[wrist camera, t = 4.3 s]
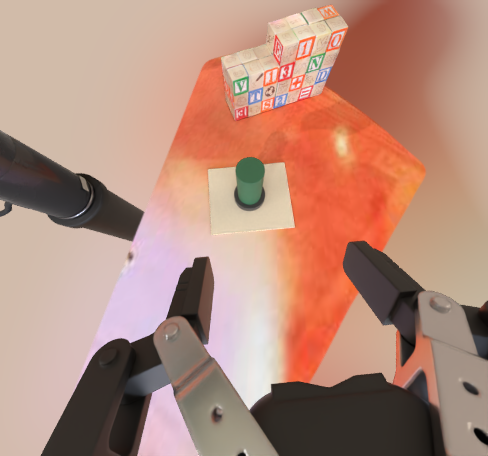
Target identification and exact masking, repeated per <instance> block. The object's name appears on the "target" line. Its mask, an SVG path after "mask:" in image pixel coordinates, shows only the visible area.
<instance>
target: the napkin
mask: <svg viewBox="0 0 488 456" xmlns="http://www.w3.org/2000/svg"><path fill="white" fill-rule="evenodd" d="M263 165H264V167H265V175H264V181H263V188H264V190H265V199H264V202H263V204H262V206H261V207H260V208H258V209H257V210H254V211H245V210H243V209H241V208H239V207H238V206H237V204H236V202H235V198H234V191H235V188H236V186H237V181H236V172H235V169H236V167H228V168H217V169H208V181H209V201H210V220H211V235H219V234H230V233H241V232H252V231H262V230H273V229H284V228H294V227H295V225H294V219H293V212H292V206H291V200H290V194H289V187H288V181H287V175H286V169H285V163H284V162H282V163H271V164H263Z"/></svg>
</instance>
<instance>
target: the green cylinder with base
mask: <svg viewBox="0 0 488 456" xmlns="http://www.w3.org/2000/svg"><path fill="white" fill-rule="evenodd" d="M235 172H236V181H237V186H236V188H235V191H234V198H235V202H236V204H237V206H238V207H239V208H241V209H243V210H245V211H254V210H257V209H258V208H260V207H261V206H262V204H263V202H264V199H265V190H264V188H263V181H264V175H265V167H264V165H263V163H262V162H261V161H260V160H259V159H257V158H253V157H247V158H244V159H242V160H241V161H239V163H238V164H237V166H236V169H235Z"/></svg>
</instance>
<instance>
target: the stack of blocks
mask: <svg viewBox="0 0 488 456" xmlns="http://www.w3.org/2000/svg"><path fill="white" fill-rule="evenodd" d="M347 29H348V26H347V24H346V23H345V22H344V20H343V19H342V17H341V16H339V13H338V12H337V11H336V9H335V8H334V7H333V6H332V5H328V6H325V7H321V8H313V9H309V10H306V11H303V12H301V13H297V14H294V15H291V16H288V17H285V18H282V19H279V20H275V21H272V22H269V23H268V31H267V40H266V44H264V45H261V46H257V47H254V48H250V49H246V50H243V51H239V52H237V53H234V54H230V55H227V56H224V57H221V61H222V71H223V81H224V89H225V96H226V102H227V104H228V106H229V108H230V110H231V113H232V115H233V117H234V119H235V121H237V120H240V119H242V118H245V117H250V116H253V115H256V114H259V113H262V112H265V111H269V110H272V109H274V108H277V107H280V106H283V105H286V104H289V103H292V102H295V101H299V100H303V99H306V98H309V97H313V96H316V95H319V94H321V93H322V90H323V88H324V86H325V83H326V80H327V78H328V75H329V73H330V71H331V68H332V66H333V64H334V62H335V60H336V57H337V55H338V53H339V50H340V46H341V44H342V41H343V39H344V37H345V34H346V32H347Z"/></svg>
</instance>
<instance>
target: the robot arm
mask: <svg viewBox="0 0 488 456" xmlns="http://www.w3.org/2000/svg"><path fill="white" fill-rule="evenodd" d="M95 195H96V194H95V189H94V186H93V185H92V184H91V183H90V182H89V181H87V180H86V179H84V178H83V177H81V176H78V175H76V174H74V173H73V172H71V171H69V170H68V169H66V168H64V167H62V166H61V165H59V164H57V163H56V162H54V161H52V160H51V159H49V158H47V157H45V156H43V155H42V154H40V153H38V152H37V151H35V150H33V149H32V148H30V147H28V146H26V145H25V144H23V143H21V142H20V141H18V140H16V139H14V138H13V137H11V136H9V135H8V134H5V133H4V132H2V131H1V130H0V200H3V201H6V202H5V209H4V210H2V211H0V217H1V216H4V215H6V214H8V213H9V212H10V211H12V204H14V205H17V206H21V207H24V208H28V209H33V210H36V211H39V212H43V213H46V214H49V215H52V216H55V217H57V218H61V219H64V220H72V219H76V218H79V217H81V216H82V215H84V214H85V213H87V212H88V211H89V209H90V208H91V207H92V205H93V203H94V201H95ZM343 268H344V271H345V273H346V275H347V276H348V277H349V279H350V280H351V282H352V283H353V284H354V286H355V287H356V288H357V290H358V291H359V293H360V294H361V295H362V297H363V298H364V299H365V301H366V302H367V304H368V305H369V307H370V308H371V309H372V311H373V312H374V313H375V315H376V316H377V318H378V319H379V320H380V321H381V323H382V324H383V325H389V324H390V325H391V324H394V325H395V327H396V328H397V329H398V330H397V332H396V374H395V377H394V380H393V384H391V383H388V382H387V381H386V379H385V378H384V376H383V374H382V373H375V374H364V375H356V376H353V377H351V378H349V379H347V380H345V381H343V382H341V383H339V384H337V385H335V386H333V387H323V386H318V385H314V384H309V383H304V382H299V381H297V382H287V383H278V384H271V393H269V394H267V395H265V396H264V397H262V398H261V399H259V400H258V401H257V402H256V403H255V404H254V405H253V406H252V408H251V409H250V410H248V408H247V407H246V405H245V404H244V402H243V401H242V399H241V398H240V396H239V394H238V393H237V391H236V390H235V388H234V387H233V385H232V384H231V382H230V381H229V379H228V378H227V376H226V375H225V373H224V372H223V370H222V369H221V367H220V366H219V364H218V363H217V361H216V360H215V359H214V358H212V357H211V356H210V355H209V353H208V352H207V350H206V349H205V347H204V344H208V339H209V330H210V320H211V310H212V301H213V291H214V277H213V272H212V268H211V264H210V259H209V257H199V258H195V259H194V263H193V267H191V268H186V269H185V270H184V271H183V272H182V274H181V275H180V278H179V281H178V285H177V287H176V291H175V293H174V296H173V299H172V302H171V305H170V309H169V312H168V315H167V318H166V320H165V321H163V322H162V323H161V324H160V325H159V326H158V328H157V329H156V331H155V332H154V333H153V334H151V335H149V336H147V337H144V338H142V339H140V340H137V341H135V342H132V343H129V341H128V340H126V339H122V338H121V339H115V340H112V341H110V342H108V343H107V344H105V345H104V346H103V347H101V348H100V349H99V350H98V351H97V352H96V353H95V355H94V356H93V357H92V359H91V361H90V362H89V364H88V366H87V368H86V370H85V372H84V374H83V376H82V378H81V380H80V381H79V383H78V385H77V387H76V389H75V391H74V393H73V395H72V397H71V399H70V401H69V402H68V404H67V406H66V408H65V410H64V412H63V414H62V416H61V418H60V420H59V422H58V423H57V426H56V427H55V429H54V431H53V433H52V435H51V437H50V439H49V441H48V443H47V444H46V446H45V448H44V450H43V453H42V454H41V456H137V454H138V450H139V446H140V442H141V437H142V433H143V429H144V425H145V421H146V417H147V412H148V408H149V404H150V400H151V396H152V392H154V391H156V390H158V389H160V388H162V387H164V386H166V385H168V384H170V383H171V385H172V387H173V390H174V396H175V399H176V402H177V404H178V407H179V409H180V411H181V414H182V416H183V419H184V421H185V423H186V426H187V428H188V431H189V433H190V435H191V438H192V440H193V443H194V445H195V448H196V450H197V452H198V455H199V456H488V301H487V302H485V304H484V305H483V306H482V307H481V308H477V307H472V306H465V305H459V304H458V303H457V302H456V301H454V300H453V299H451V298H450V297H447V296H446V295H443V294H441V293H438V292H434V291H426V290H424V289H423V288H422V287H421V286H420V285H419V284H418V283H417V282H416V281H415V280H413V279H412V278H411V277H410V276H409V275H408V274H407V273H406V272H404V271H403V270H402V269H401V268H399V266H398V265H397V264H396V263H395V262H393V261H392V260H391V259H390V258H389V257H388V256H387V255H386V254H384V253H382V252H381V251H379V250H377V249H373V248H372V247H371V246H370V245H369V244H368V243H367V242H366V241H355V242H349V243H348V245H347V249H346V253H345V257H344V261H343Z"/></svg>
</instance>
